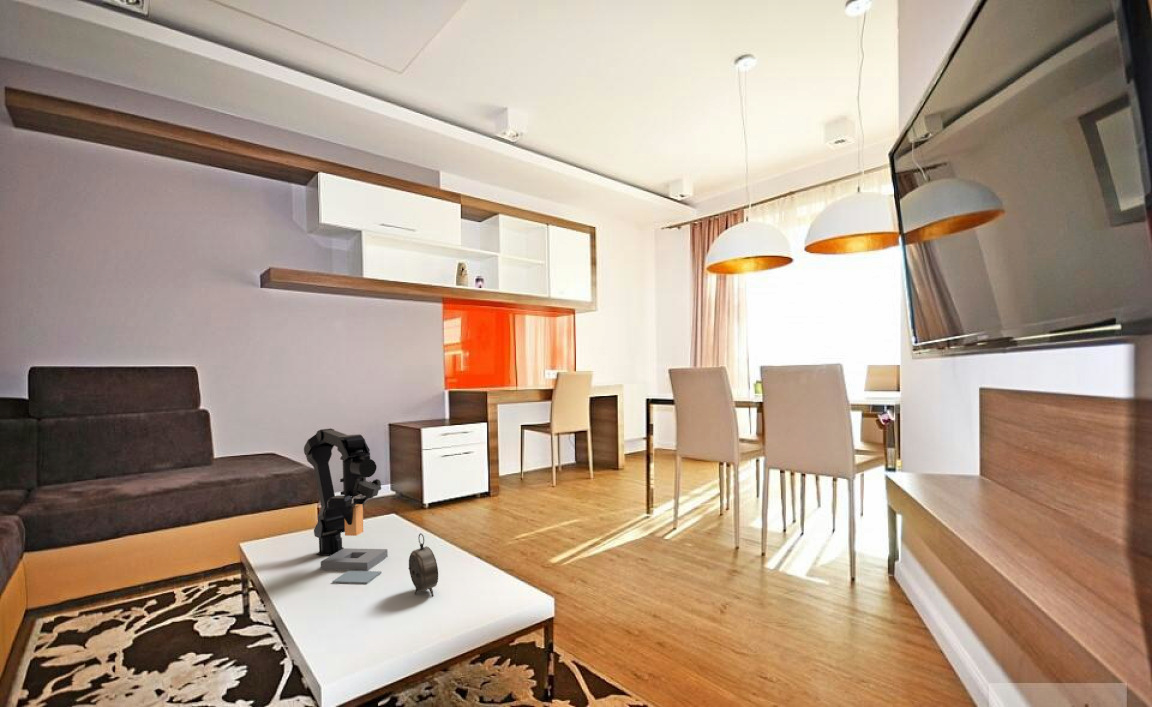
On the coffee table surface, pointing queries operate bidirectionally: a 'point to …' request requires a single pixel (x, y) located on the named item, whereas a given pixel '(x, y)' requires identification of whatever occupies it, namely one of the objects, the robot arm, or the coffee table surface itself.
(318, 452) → the robot arm
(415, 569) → the alarm clock
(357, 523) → the orange block
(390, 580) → the coffee table surface
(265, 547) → the coffee table surface
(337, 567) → the holder
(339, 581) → the mat
